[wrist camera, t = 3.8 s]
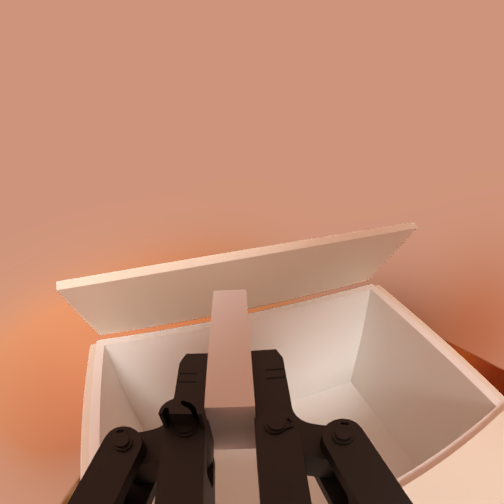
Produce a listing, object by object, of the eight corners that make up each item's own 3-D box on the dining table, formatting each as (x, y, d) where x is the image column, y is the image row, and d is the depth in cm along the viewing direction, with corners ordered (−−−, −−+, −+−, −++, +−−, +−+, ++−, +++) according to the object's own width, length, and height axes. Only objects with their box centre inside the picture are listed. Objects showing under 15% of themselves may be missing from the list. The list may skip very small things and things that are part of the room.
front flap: (367, 280, 32) (365, 275, 33) (417, 227, 24) (413, 221, 24) (100, 335, 26) (99, 329, 26) (56, 290, 17) (56, 281, 17)
